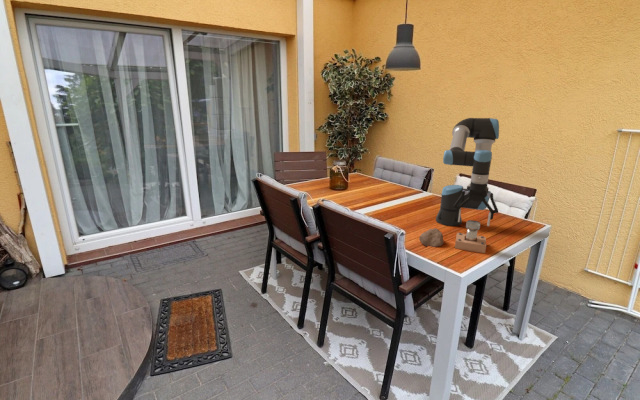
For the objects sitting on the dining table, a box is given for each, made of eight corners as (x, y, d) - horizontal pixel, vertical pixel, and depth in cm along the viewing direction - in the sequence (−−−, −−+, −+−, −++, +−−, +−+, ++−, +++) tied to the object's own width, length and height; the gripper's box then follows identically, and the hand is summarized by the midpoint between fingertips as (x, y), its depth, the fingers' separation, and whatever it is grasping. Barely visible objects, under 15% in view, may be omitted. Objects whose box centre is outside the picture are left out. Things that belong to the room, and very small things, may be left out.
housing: (454, 249, 169) (455, 239, 167) (455, 241, 179) (457, 231, 178) (484, 255, 163) (486, 244, 162) (484, 245, 174) (485, 235, 172)
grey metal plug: (462, 247, 169) (466, 223, 166) (463, 242, 175) (466, 219, 171) (476, 249, 167) (480, 225, 163) (476, 244, 172) (480, 221, 169)
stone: (442, 246, 179) (437, 228, 181) (450, 244, 170) (444, 225, 172) (420, 250, 177) (415, 232, 180) (427, 248, 168) (421, 229, 171)
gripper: (451, 181, 163) (446, 221, 169) (508, 186, 153) (501, 229, 159) (452, 178, 169) (447, 217, 175) (507, 183, 159) (500, 224, 165)
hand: (473, 223), depth 167 cm, fingers open, 13 cm apart
